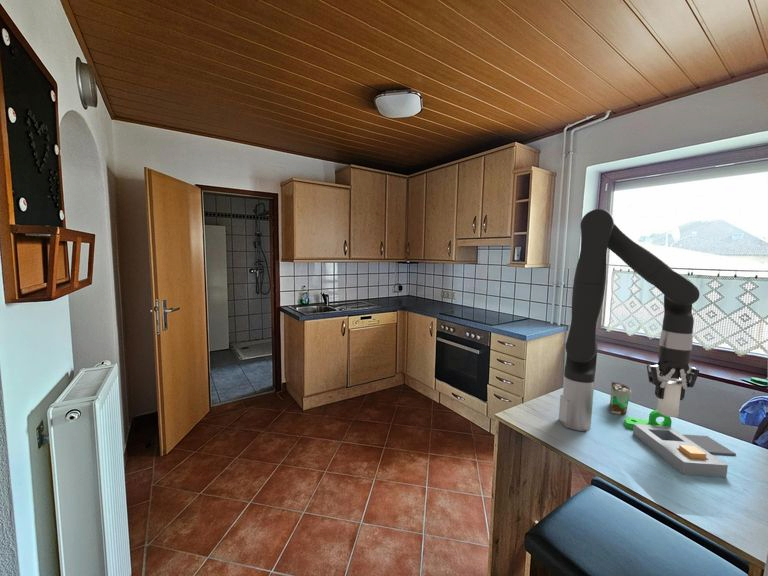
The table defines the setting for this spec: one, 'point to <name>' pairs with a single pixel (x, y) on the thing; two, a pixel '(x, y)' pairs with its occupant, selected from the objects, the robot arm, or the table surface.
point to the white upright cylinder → (670, 399)
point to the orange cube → (692, 452)
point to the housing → (667, 447)
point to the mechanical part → (652, 420)
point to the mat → (709, 445)
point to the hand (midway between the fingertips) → (669, 398)
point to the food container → (619, 398)
